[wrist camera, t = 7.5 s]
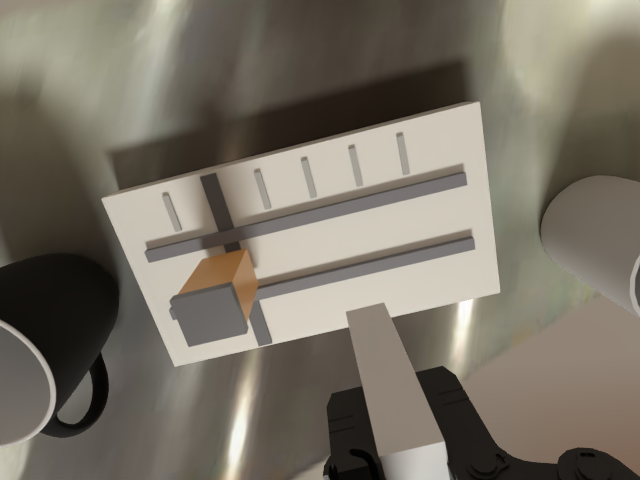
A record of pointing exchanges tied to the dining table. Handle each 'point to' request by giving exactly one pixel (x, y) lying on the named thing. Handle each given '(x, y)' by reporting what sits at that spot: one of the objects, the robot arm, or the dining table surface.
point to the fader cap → (216, 298)
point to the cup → (598, 236)
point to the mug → (52, 342)
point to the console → (323, 228)
